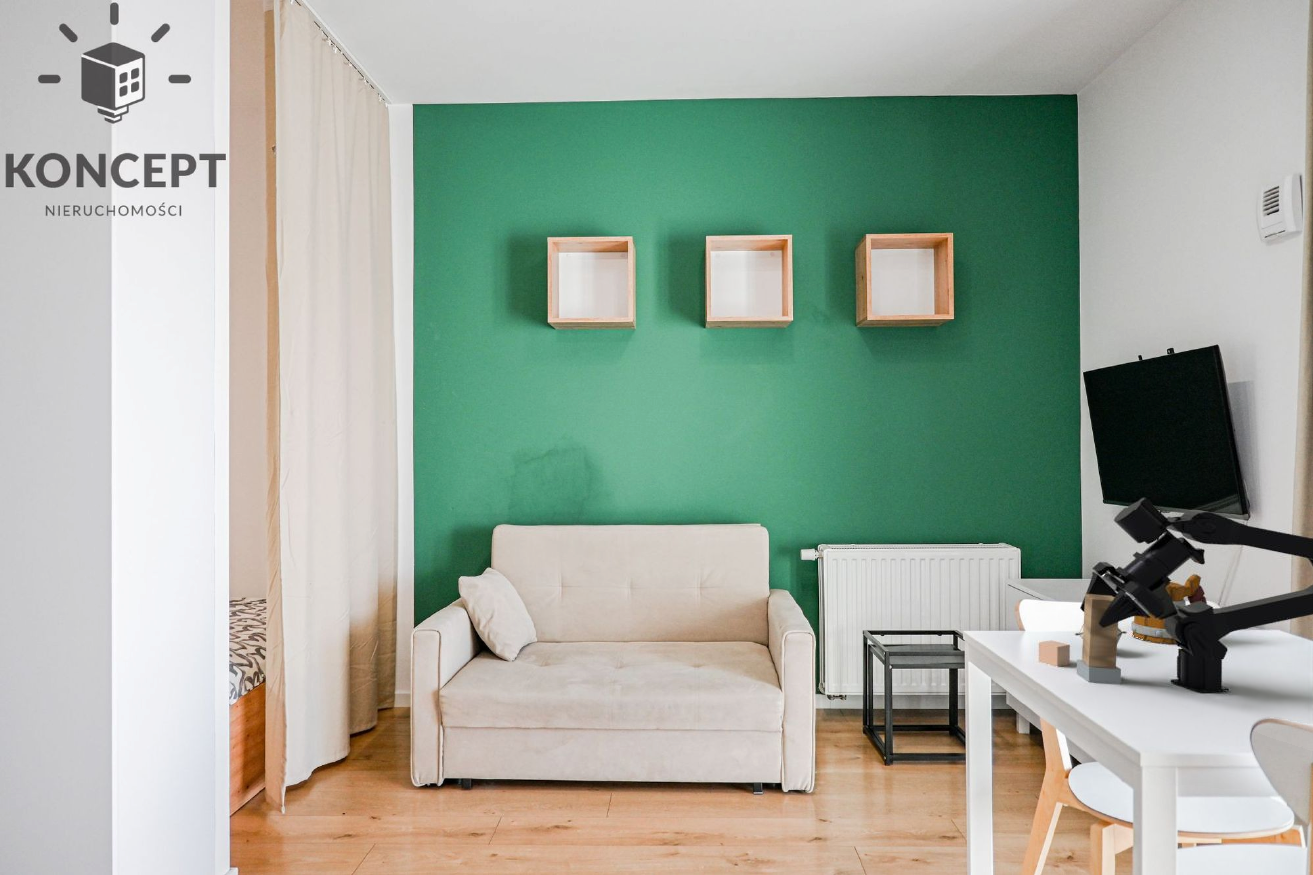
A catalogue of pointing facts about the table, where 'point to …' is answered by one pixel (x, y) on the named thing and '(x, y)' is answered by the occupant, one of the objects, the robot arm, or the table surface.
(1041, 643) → the clay block
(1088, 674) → the slate block
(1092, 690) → the table surface
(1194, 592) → the mug
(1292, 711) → the table surface
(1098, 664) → the walnut block
